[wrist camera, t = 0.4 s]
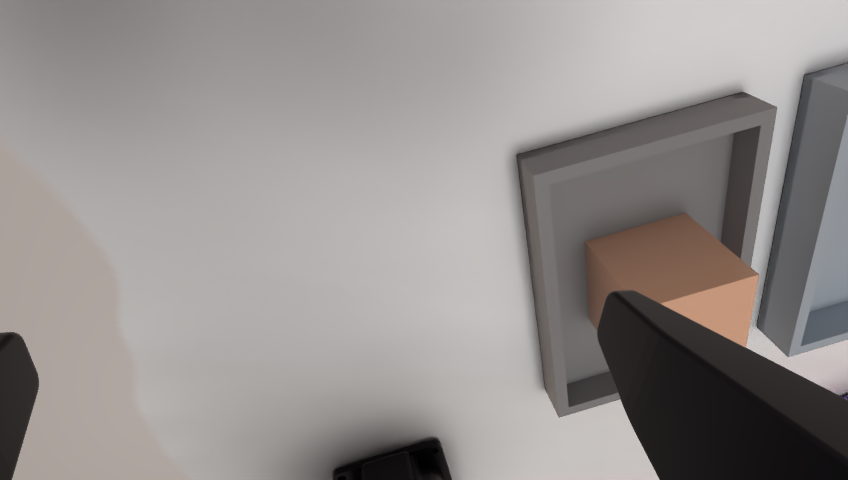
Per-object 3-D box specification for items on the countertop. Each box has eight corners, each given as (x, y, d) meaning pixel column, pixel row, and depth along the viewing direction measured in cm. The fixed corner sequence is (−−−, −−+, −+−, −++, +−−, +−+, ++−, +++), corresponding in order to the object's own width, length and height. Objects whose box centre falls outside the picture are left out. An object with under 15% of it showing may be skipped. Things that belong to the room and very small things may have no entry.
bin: (711, 340, 32) (734, 365, 30) (545, 389, 32) (558, 417, 30) (743, 91, 24) (777, 107, 22) (516, 154, 23) (533, 175, 21)
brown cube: (679, 292, 29) (743, 360, 25) (588, 319, 28) (637, 392, 24) (685, 212, 26) (759, 274, 22) (585, 241, 26) (639, 309, 22)
